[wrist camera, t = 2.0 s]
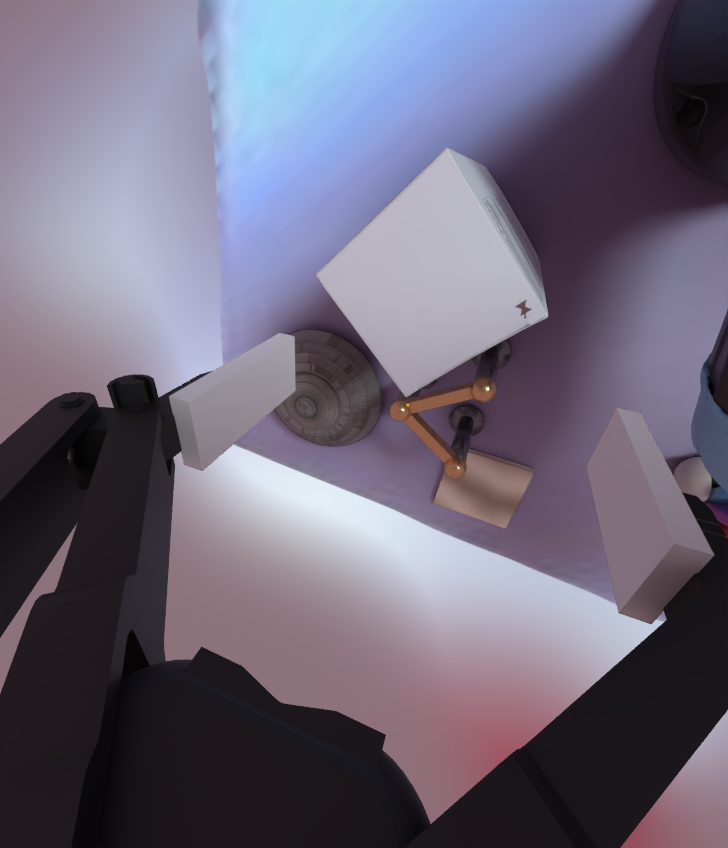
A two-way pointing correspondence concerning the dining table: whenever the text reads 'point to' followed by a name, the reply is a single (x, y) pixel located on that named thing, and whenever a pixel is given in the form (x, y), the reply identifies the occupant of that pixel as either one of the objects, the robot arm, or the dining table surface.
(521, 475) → the coaster
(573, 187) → the dining table surface
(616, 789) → the robot arm
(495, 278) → the supplement box
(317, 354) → the flying saucer
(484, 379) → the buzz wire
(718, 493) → the rainbow disc toy
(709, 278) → the dining table surface
